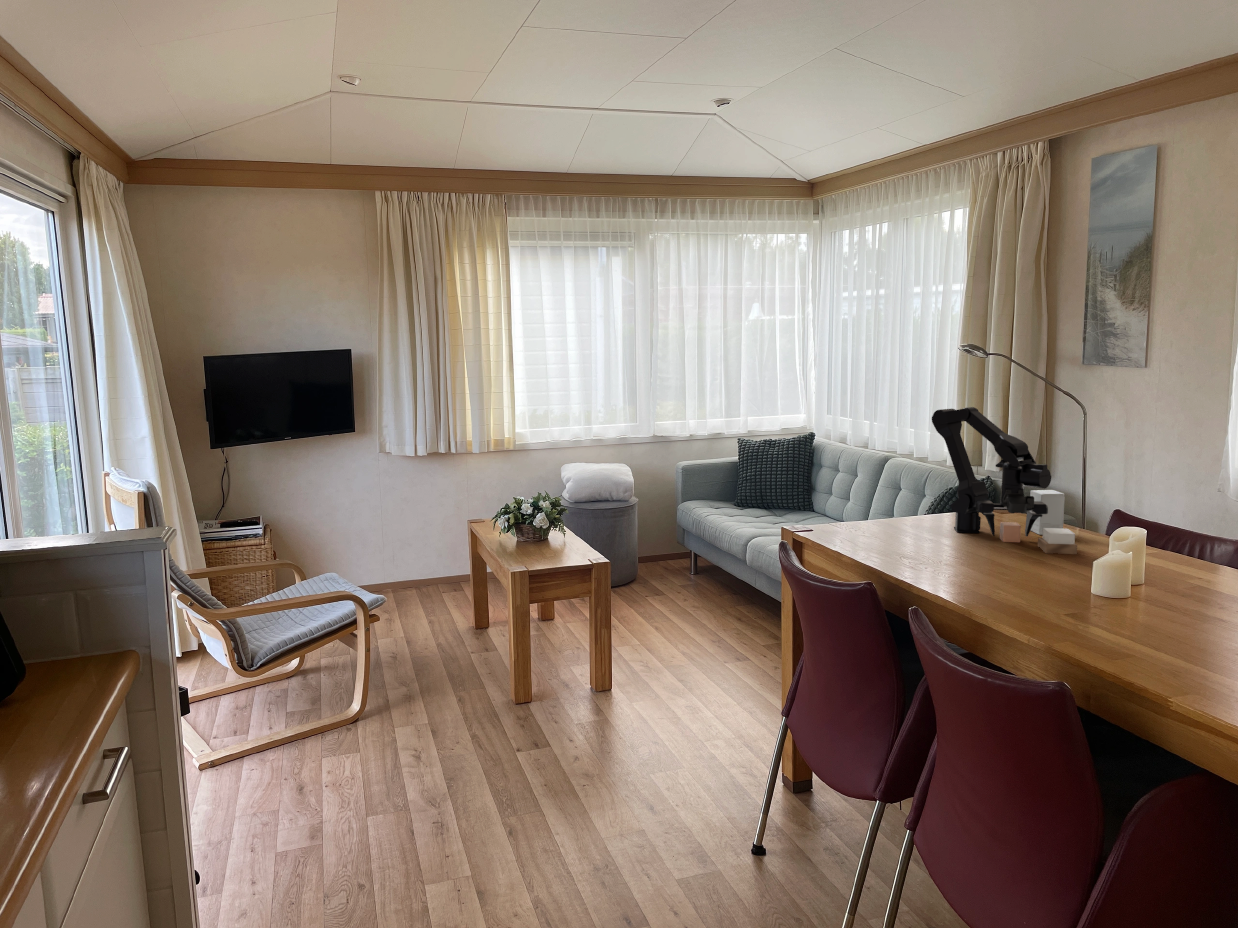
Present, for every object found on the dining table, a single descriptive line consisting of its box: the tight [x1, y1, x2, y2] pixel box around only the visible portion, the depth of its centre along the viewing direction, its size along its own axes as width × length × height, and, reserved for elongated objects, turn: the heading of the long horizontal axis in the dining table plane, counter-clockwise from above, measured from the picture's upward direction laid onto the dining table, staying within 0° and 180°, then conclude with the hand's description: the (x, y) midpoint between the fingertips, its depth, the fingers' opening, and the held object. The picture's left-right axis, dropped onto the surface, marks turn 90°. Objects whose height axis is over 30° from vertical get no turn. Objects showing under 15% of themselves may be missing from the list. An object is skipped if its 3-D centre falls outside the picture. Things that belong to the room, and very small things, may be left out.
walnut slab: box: [1037, 537, 1078, 555], centre depth 242 cm, size 8×8×3 cm
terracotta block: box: [999, 521, 1022, 543], centre depth 254 cm, size 5×5×5 cm
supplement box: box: [1029, 489, 1066, 536], centre depth 262 cm, size 7×7×13 cm
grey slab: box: [1042, 527, 1076, 544], centre depth 241 cm, size 6×6×3 cm
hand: (1009, 535), depth 254 cm, fingers open, 9 cm apart
